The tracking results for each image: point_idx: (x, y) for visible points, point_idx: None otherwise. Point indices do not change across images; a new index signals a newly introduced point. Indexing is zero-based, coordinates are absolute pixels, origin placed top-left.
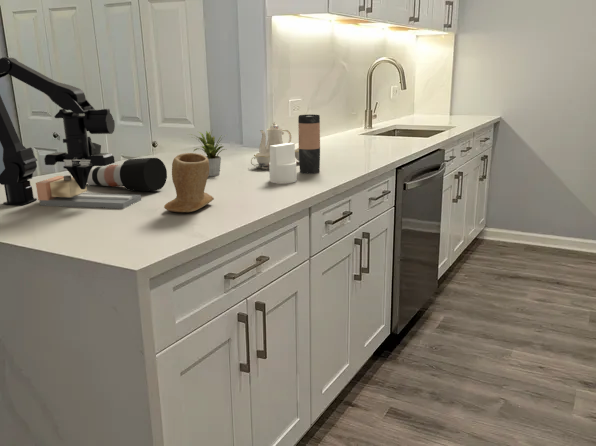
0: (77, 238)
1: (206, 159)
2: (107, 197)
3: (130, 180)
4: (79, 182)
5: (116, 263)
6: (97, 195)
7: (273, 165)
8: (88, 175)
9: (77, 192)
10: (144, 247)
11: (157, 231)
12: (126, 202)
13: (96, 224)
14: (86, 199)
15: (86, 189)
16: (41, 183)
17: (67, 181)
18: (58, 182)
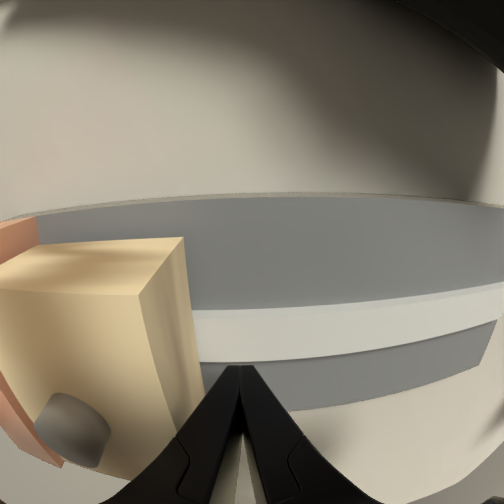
0: (391, 494)
1: None
2: (420, 337)
3: (470, 25)
4: (239, 451)
5: (444, 488)
6: (350, 329)
7: None
8: (316, 452)
9: (197, 370)
10: (473, 461)
11: (498, 425)
12: (486, 341)
13: (410, 462)
14: (294, 375)
15: (181, 248)
16: (43, 458)
17: (130, 457)
18: (101, 467)
